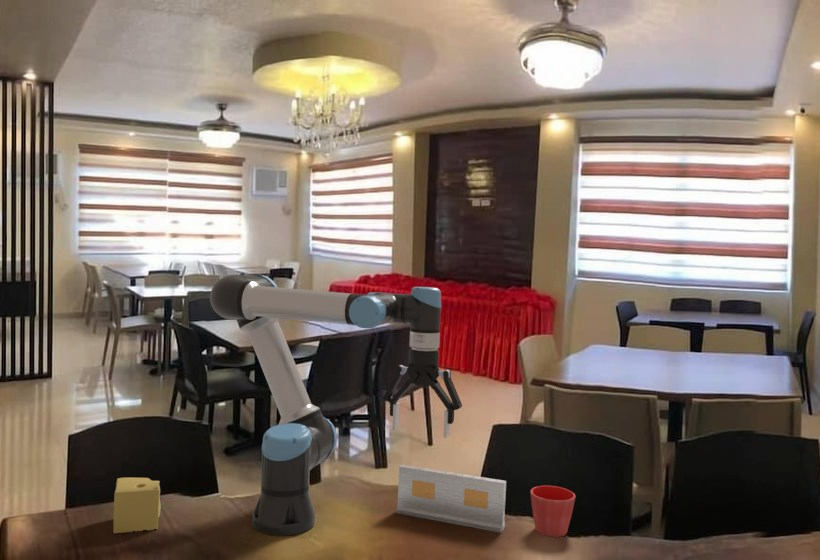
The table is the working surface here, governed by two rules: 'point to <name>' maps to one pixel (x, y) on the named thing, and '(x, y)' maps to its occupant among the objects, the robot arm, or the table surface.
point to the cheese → (136, 505)
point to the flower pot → (552, 509)
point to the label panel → (452, 497)
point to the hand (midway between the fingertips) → (420, 432)
